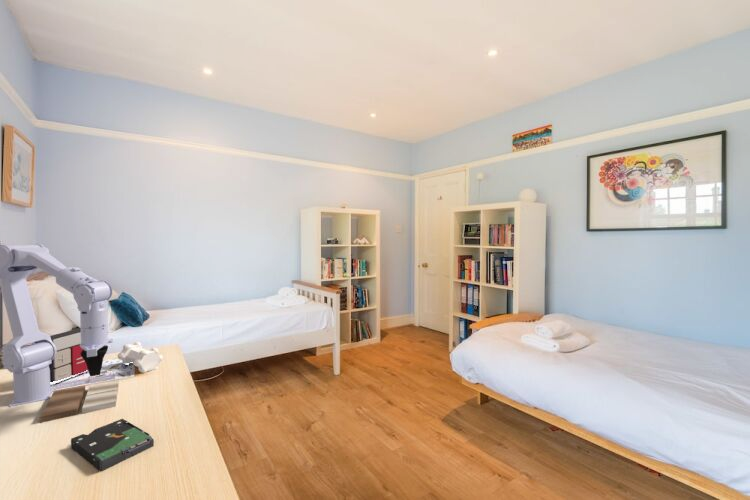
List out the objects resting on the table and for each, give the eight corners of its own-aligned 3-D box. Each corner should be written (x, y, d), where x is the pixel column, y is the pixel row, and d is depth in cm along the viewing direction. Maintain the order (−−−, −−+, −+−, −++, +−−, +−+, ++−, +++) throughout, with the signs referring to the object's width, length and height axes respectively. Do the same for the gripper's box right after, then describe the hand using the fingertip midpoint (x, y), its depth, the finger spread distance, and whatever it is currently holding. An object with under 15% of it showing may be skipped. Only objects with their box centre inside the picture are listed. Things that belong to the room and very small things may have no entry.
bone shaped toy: (163, 370, 122) (165, 347, 122) (136, 376, 115) (138, 351, 115) (141, 361, 130) (143, 339, 130) (115, 366, 122) (117, 343, 123)
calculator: (54, 387, 107) (52, 338, 106) (43, 385, 107) (41, 337, 107) (90, 373, 117) (88, 329, 117) (79, 371, 118) (78, 328, 117)
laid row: (54, 397, 100) (54, 391, 100) (85, 391, 104) (85, 385, 104) (40, 424, 86) (40, 416, 86) (76, 416, 90) (76, 409, 90)
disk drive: (69, 451, 77) (100, 474, 69) (69, 439, 77) (100, 460, 69) (122, 429, 86) (155, 447, 78) (122, 417, 85) (155, 435, 78)
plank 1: (90, 389, 104) (89, 384, 104) (118, 384, 108) (118, 379, 108) (86, 400, 98) (86, 395, 98) (117, 394, 101) (117, 389, 101)
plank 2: (86, 401, 97) (86, 395, 97) (117, 395, 101) (117, 390, 101) (82, 413, 90) (82, 408, 90) (115, 406, 94) (115, 401, 94)
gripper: (110, 330, 91) (111, 381, 92) (114, 318, 103) (114, 363, 104) (75, 334, 87) (76, 387, 88) (83, 321, 99) (84, 368, 100)
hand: (95, 374), depth 95 cm, fingers closed
